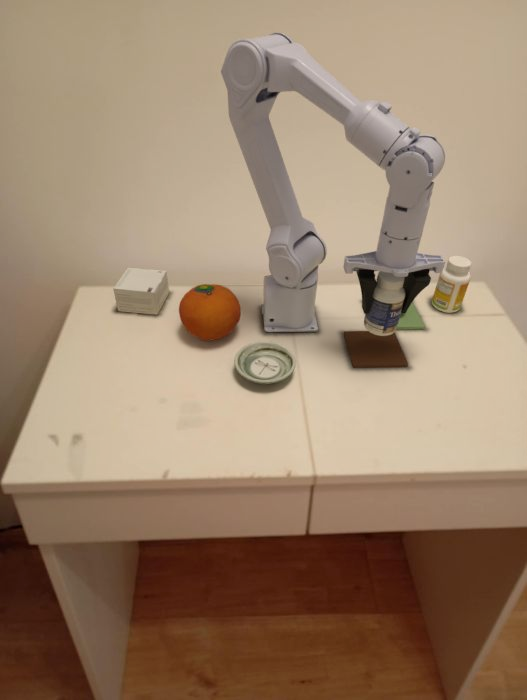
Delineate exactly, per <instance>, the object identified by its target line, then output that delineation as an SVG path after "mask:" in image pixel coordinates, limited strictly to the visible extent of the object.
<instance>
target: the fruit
mask: <svg viewBox="0 0 527 700" xmlns="http://www.w3.org/2000/svg"><path fill="white" fill-rule="evenodd" d="M241 311H242V310H241V304H240V301H239V298H238V297H237V296H236V295H235V293H234V292H233V291H232V290H230V289H229V288H228V287H227V286H224V285H220V284H216V283H214V284H209V283H203V284H198V285H196V286H194V287H191V288H190V290H189V291H187V292H186V293H185V294H184V295H183V296H182V298H181V300H180V302H179V306H178V313H179V318H180V322H181V324H182V326H183V328H184V329H185V330H186V331H187V332H188V333H189V334H190V335H192V336H194V337H196V338H197V339H200V340H203V341H216V340H219V339H221V338H224V337H226V336H228V335H229V334H231V333H232V332H233V331H234V330H235V328H236V327H237V325H238V324H239V322H240V318H241V313H242V312H241Z"/></svg>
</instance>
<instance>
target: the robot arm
mask: <svg viewBox="0 0 527 700" xmlns="http://www.w3.org/2000/svg"><path fill="white" fill-rule="evenodd" d="M220 74H221V76H222V79H223V82H224V85H225V87H226V90H227V107H228V117H229V121H230V124H231V127H232V129H233V132H234V135H235V137H236V140H237V142H238V146H239V148H240V151H241V153H242V156H243V159H244V161H245V165H246V166H247V169H248V172H249V176H250V177H251V178H250V179H251V180H252V183H253V185H254V189H255V192H256V194H257V196H258V199H259V202H260V205H261V207H262V210H263V212H264V215H265V218H266V220H267V223H268V226H269V228H270V231H269V232H270V233H269V236H268V239H267V242H266V246H265V250H266V252H267V255H268V270H269V273H270V274H268V275H264V276H263V291H262V292H263V293H262V296H263V297H262V304H261V315H263V326H264V327H263V329H264V331H265V332H267V333H289V332H290V333H291V332H292V333H293V332H294V333H296V332H317V331H318V330H319V326H318V322H317V317H316V313H315V309H316V299H317V290H318V280H319V265H321V264H323V263H324V261H325V260H326V257H327V254H328V250H327V246H326V242H325V240H324V239H323V238H322V237H321V236H320V235H319V234H318V232H317V230H316V227H315V224H314V223H313V222H312V221H311V220H309V219H307V218H305V217H304V216H303V214H302V211H301V208H300V206H299V203H298V199H297V197H296V193H295V191H294V188H293V185H292V181H291V179H290V176H289V174H288V170H287V167H286V164H285V161H284V158H283V156H282V152H281V150H280V147H279V144H278V140H277V137H276V135H275V132H274V129H273V126H272V122H271V119H270V113H271V112H272V109H273V108H274V104H275V102H276V100H277V97H278V96H279V95H280V94H281V93H284V92H285V93H286V92H295V93H297V94H299V95H301V96H302V97H303V98H305V99H306V100H308V101H309V102H310V103H312V104H313V105H314V106H316V107H317V108H319V109H320V110H322V111H323V112H324V113H326V114H327V115H328V116H330V117H331V118H333V119H334V120H336V121H337V122H338V123H339V124H341V125H342V126H343V128H344V135H345V140H346V141H347V142H348V143H349V144H350V145H352V146H353V147H354V148H355V149H357V150H358V151H359V152H360V153H362V154H363V155H364V156H365V157H366V158H367V159H369V160H370V161H372V163H374V164H375V165H376V166H378V167H379V168H380V169H382V170H383V171H385V178H386V181H387V183H388V186H389V188H388V193H387V196H386V200H385V206H384V210H383V216H382V219H381V220H382V221H381V226H380V230H379V235H378V241H377V245H376V250H375V251H370V252H364V253H359V254H352V255H345V256H344V259H343V260H344V261H343V271H344V273H345V274H346V275H347V274H348V275H349V274H350V275H351V274H353V273H354V272H356V276H357V279H358V283H359V287H360V292H361V309H362V311H363V314H364V315H365V314H369V312H370V308H371V301H372V297H373V294H374V291H375V288H376V286H377V278H376V273H375V272H380V271H381V272H387V273H393V275H394V276H396V277H405V279H404V284H403V288H404V290H405V299H404V302H403V306H402V310H401V313H406V312H407V310H408V308H409V306H410V305H411V303H412V302H413V303H414V300H415V299H416V298H417V297H418V295H420V293H421V292H422V291H424V290H425V289H426V288H427V287H428V286H429V285H430V283H431V281H432V277H431V276H430V272H434V273H435V274H440V273H442V271H443V268H444V267H445V266H446V265H445V264H446V261H445V258H443V256H442V255H438V254H437V255H436V254H428V253H421V252H419V247H420V243H421V240H422V237H423V232H424V228H425V225H426V221H427V217H428V213H429V208H430V206H431V197H432V195H433V191H434V190H433V189H434V185H435V182H434V181H433V180H435V179H436V178H437V176H439V174H440V173H441V171H442V169H443V168H444V165H445V163H446V153H445V150H444V147H443V145H442V143H440V141H439V140H438V139H437V137H436V136H435V135H432V134H427V133H425V134H421V130H419V129H418V128H417V127H416V126H414V127H413V128H411V127H410V126H409V125H408V124H406V123H405V122H403V120H401V119H400V118H399V117H397V116H396V115H395V114H393V112H391V110H392V108H393V107H392V105H391V104H390V103H388V102H387V101H386V100H384V101H381V102H378V101H377V100H376V99H371V100H367V101H361V100H359V98H357V97H356V96H355V95H354V94H353V93H352V92H351V91H350V90H349V89H348V88H346V87H345V86H344V85H343V84H342V83H340V81H339V80H338V79H337V78H335V77H334V76H333V75H332V73H331V74H330V73H329V72H328V71H327V70H326V69H325V68H324V67H323V66H322V65H321V64H320V63H318V62H317V60H315V59H314V58H313V57H312V56H311V54H309V53H308V50H307V49H306V48H305V47H304V46H303V45H302V44H300V43H298V42H294V41H293V39H292V38H291V37H290V36H289V35H287V34H286V33H283V32H273V33H270V34H268V35H262V36H258V37H252V38H240V39H237V40H235V41H234V42H233V43H231V45H230V46H229V47H228V49H227V52H226V55H225V57H224V60H223V64H222V67H221V69H220Z"/></svg>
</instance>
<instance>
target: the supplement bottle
mask: <svg viewBox="0 0 527 700" xmlns="http://www.w3.org/2000/svg"><path fill="white" fill-rule="evenodd" d="M471 267H472V261H471V259H468V258H467V257H465V256H461V255H453V256H450V257H449V258H448V260H447V262H446V265H445V266H444V268H443V271H442V273H439V275H438V279H437V281H436V282H437V283H436V286H435V288H434V289H435V290H434V293H433V295H432V299H431V304H432V306H433V307H434V309H436V310H438V311H439V312H443V313H456V312H458V311H459V310H460V309H461V307H462V306H463V305H462V304H463V302H464V300H465V299H464V298H465V295H466V294H467V290H468V288H469V284H470V282H471V277H472V276H471V273H470V270H471Z"/></svg>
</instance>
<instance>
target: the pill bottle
mask: <svg viewBox="0 0 527 700" xmlns="http://www.w3.org/2000/svg"><path fill="white" fill-rule="evenodd" d="M376 276H377V277H376V282H377V286H376V288H375V291H374V294H373V297H372V301H371V308H370V312H369V314H364V318H363V326H364V329H365V330H366V331H369V332H371V333H373V334H375V335H379V336H387V335H391V334H393V333H394V332H395V333H396V331H397V330H396V328H397V325H398V321H399V318H400V314H401V310H402V306H403V302H404V299H405V290H404V288H403V284H404V279H405V277H396V276H394V275H393V273H387V272H381V271H378V273H377V275H376Z"/></svg>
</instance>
